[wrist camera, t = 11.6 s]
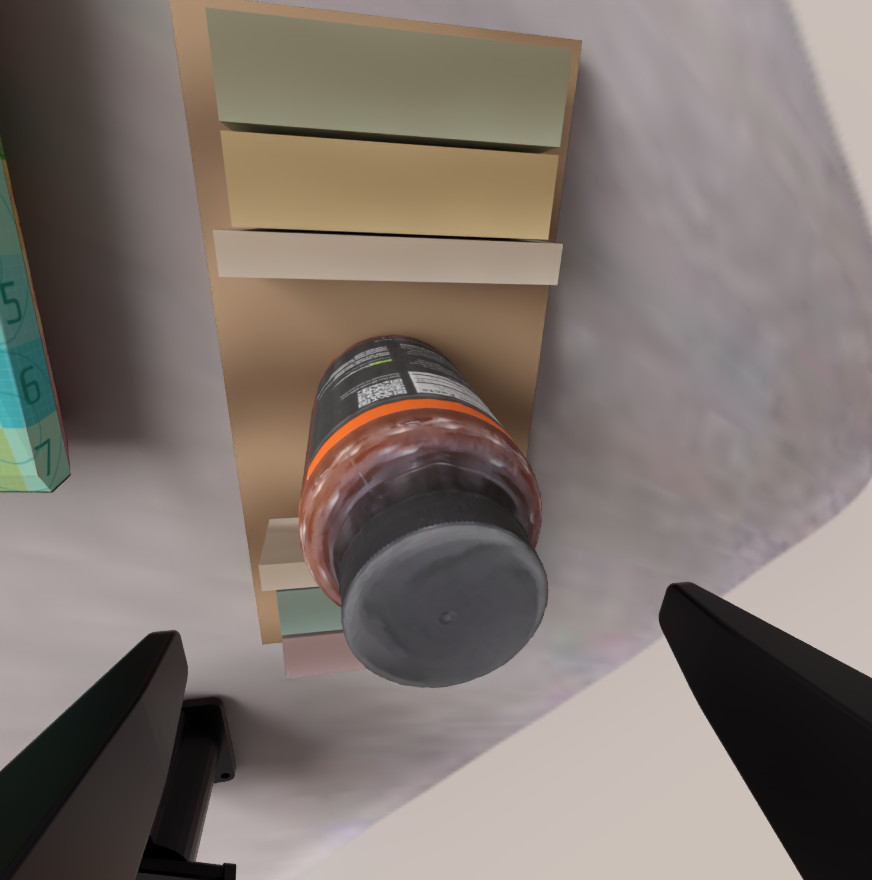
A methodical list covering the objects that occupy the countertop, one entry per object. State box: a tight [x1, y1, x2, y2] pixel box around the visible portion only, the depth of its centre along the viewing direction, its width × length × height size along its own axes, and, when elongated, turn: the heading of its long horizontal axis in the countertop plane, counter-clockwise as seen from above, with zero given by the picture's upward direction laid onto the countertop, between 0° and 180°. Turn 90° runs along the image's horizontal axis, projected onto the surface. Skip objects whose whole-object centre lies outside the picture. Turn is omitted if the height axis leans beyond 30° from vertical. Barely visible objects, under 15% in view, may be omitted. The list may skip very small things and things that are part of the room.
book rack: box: [169, 0, 582, 678], centre depth 18 cm, size 24×12×4 cm, turn 177°
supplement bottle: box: [298, 335, 548, 688], centre depth 14 cm, size 6×6×11 cm
